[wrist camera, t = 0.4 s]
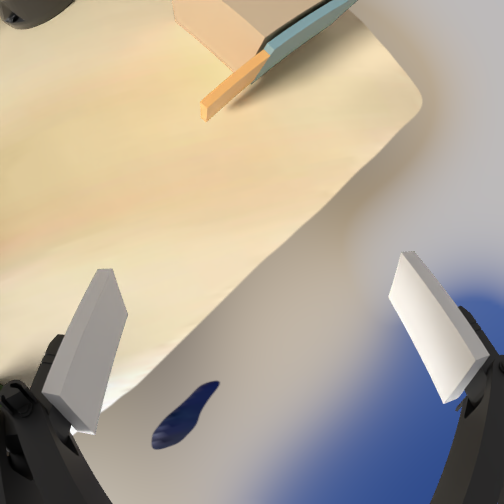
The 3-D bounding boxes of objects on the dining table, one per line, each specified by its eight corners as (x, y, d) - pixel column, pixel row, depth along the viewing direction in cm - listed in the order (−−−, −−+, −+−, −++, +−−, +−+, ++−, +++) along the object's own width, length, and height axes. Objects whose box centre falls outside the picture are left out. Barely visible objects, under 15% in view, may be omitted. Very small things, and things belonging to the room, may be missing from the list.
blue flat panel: (201, 119, 32) (200, 97, 20) (325, 21, 30) (368, -20, 19) (206, 124, 32) (207, 104, 21) (329, 25, 30) (374, -14, 19)
